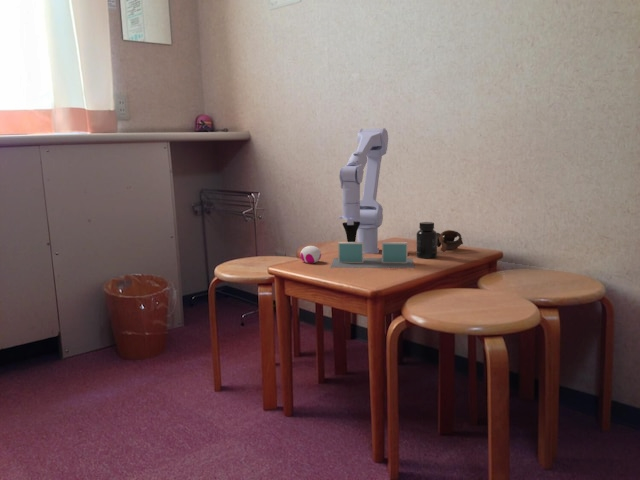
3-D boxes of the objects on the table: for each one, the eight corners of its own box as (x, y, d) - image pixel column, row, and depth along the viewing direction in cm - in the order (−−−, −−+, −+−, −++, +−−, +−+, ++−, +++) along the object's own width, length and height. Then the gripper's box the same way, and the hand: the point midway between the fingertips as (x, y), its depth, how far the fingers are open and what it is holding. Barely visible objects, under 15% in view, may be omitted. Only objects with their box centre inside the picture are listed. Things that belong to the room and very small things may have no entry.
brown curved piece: (466, 250, 207) (468, 232, 201) (454, 265, 201) (456, 247, 196) (436, 239, 213) (437, 222, 207) (424, 253, 207) (425, 236, 202)
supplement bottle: (431, 255, 194) (432, 221, 192) (440, 259, 188) (441, 223, 186) (413, 256, 193) (413, 221, 191) (421, 260, 186) (421, 224, 184)
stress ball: (299, 272, 186) (290, 257, 182) (312, 256, 190) (303, 241, 187) (316, 275, 181) (307, 259, 177) (329, 257, 185) (320, 242, 181)
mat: (334, 259, 191) (334, 257, 190) (412, 259, 188) (412, 258, 188) (330, 268, 176) (330, 267, 176) (414, 269, 173) (415, 267, 173)
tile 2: (381, 261, 183) (382, 242, 182) (406, 262, 182) (407, 242, 181) (382, 263, 181) (382, 243, 180) (407, 263, 180) (407, 243, 179)
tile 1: (338, 261, 184) (338, 241, 183) (363, 261, 183) (363, 242, 182) (338, 262, 182) (338, 242, 181) (363, 262, 182) (363, 243, 181)
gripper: (340, 200, 192) (340, 240, 194) (337, 205, 178) (337, 247, 180) (361, 200, 191) (361, 240, 193) (359, 205, 177) (360, 247, 179)
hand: (351, 244), depth 186 cm, fingers closed
